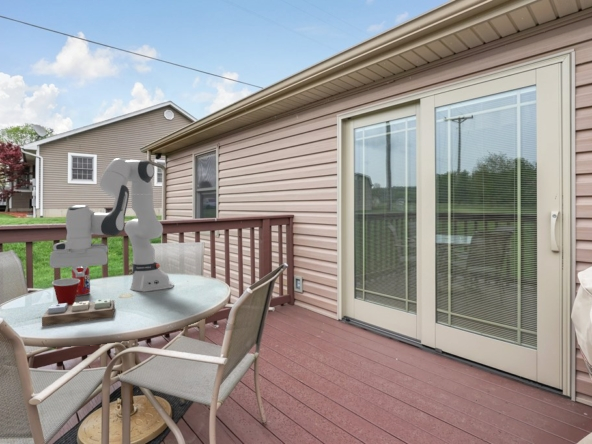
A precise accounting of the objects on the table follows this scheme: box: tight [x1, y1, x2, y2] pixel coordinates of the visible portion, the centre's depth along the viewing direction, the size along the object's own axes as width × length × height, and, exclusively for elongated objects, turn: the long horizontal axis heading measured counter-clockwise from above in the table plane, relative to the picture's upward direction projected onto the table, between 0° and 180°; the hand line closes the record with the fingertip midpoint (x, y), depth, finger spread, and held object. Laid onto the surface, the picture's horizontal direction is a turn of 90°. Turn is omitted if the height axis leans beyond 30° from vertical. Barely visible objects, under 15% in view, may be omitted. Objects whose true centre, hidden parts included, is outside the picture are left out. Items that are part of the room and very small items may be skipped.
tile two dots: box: [94, 298, 112, 308], centre depth 143 cm, size 6×6×3 cm
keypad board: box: [41, 299, 116, 327], centre depth 140 cm, size 24×14×4 cm, turn 116°
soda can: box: [71, 266, 91, 297], centre depth 172 cm, size 8×8×15 cm
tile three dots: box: [72, 300, 91, 311], centre depth 140 cm, size 6×6×3 cm
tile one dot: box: [47, 303, 67, 314], centre depth 136 cm, size 6×6×3 cm
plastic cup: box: [51, 277, 80, 305], centre depth 152 cm, size 11×11×12 cm
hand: (80, 276), depth 139 cm, fingers closed
